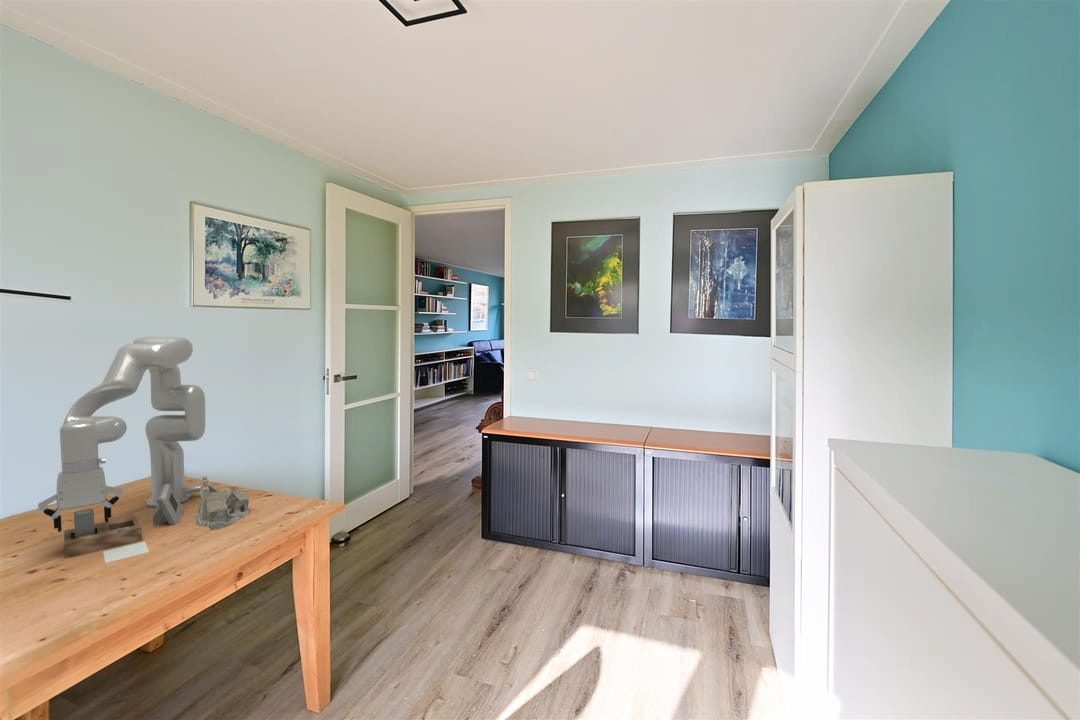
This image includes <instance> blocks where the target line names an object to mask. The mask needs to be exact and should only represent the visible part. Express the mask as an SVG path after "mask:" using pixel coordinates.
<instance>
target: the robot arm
mask: <svg viewBox="0 0 1080 720" xmlns="http://www.w3.org/2000/svg"><path fill="white" fill-rule="evenodd" d="M193 351H194V347H193V344H192V342H191V341H190V340H189V339H187V338H185V337H177V336H176V337H175V336H171V337H169V336H144V337H138V338H136V339H134V341H133V343H129V344H128V343H127V344H125V345H122V346H120V348H119V349H118V350H117V352H116V354H115V356H114V359H113V361H112V362H111V364H110V367H109V369H108V371H107V373H106V375H105V377H104V379H103V381H102V382H101V383H100V384H98V385H97V386H95V387H94V388H91V389H90V390H89V391H88V392H86V393H85V394H83V395H82V396H81V397H79V398H78V399H77V400H76V401H75V402H74V403H73V404H72V406H71V407H70V409H69V410H68V412H67V414H66V416H65V419H64V420H63V422H62V425H61V427H60V429H59V442H60V458H61V459H60V460H61V471H60V472H58V474H57V478H56V493H55V494H54V495H51V496H49V497H48V498H46V499H44V500H42V501H40V502H39V503H38V504H37V507H38V509H39V510H40V511H41V512H42V513H44V514H45V515H47V516H49V517H50V518H52V519H53V528H54V530H55V529H56V530H57V533H59V532H60V533H61V532H62V516H61V514H63V512H64V511H65V510H72V509H76V508H83V507H86V506H87V507H88V506H93V505H99V504H101V505H103V506H104V507H103V511H104V515H103V516H104V522H109V521H110V520H109V519H110V518H112V507H113V506H114V505H115V504H116V503H117V502H118V501H119V500H120V498H121V496H122V494H123V493H124V490H123V489H122V488H119V487H115V486H114V487H113V486H109V485H107V484H106V477H105V471H104V469H103V466H101V465H103V464H106V461H107V460H106V458H100V457H99V445H100V444H104V443H105V444H106V443H112V442H115V441H117V440H120V439H121V438H122V437H123V436H125V434H126V432H127V426H128V425H127V423H126V422H125V420H124V419H122V418H120V417H118V416H99V415H98V416H97V415H96V416H95V415H94V413H96V412H97V411H98V410H99V409H101V408H103V407H104V406H106V405H109V404H110V403H114V402H117V401H119V400H122V399H124V398H128V397H129V396H132V395H133V394H135V393H137V391H138V388H139V386H140V383H141V381H142V379H143V376H144V375H145V372H146V371H147V370H148V372H149V376H150V403H151V407H152V408H153V409H154V410H155V411H158V412H184V414H160V415H156V416H153V417H150V419H149V420H148V421H147V422H146V424H145V426H144V427H145V428H144V429H145V435H146V439H147V443H148V445H149V446H148V447H149V452H150V453H149V455H150V457H149V458H150V473H151V474H150V477H151V498H148V499H147V500H146V506H148V507H150V508H151V507H152V508H156V506H157V505H158V503H157V497H158V495H159V492H160V490H161V488H162V486H164V485H165V484H170V485H171V487H172V489H173V491H174V493H175V494H176V496H177V498H178V500H179V502H180V504H181V503H185V502H187V501H189V500H190V499H191V493H197V492H200V490H201V489H202V487H201V485H198V486H196V485H192V486H187V485H186V483H185V482H186V481H185V480H186V479H185V458H184V457H185V452H184V449H183V447H182V445H181V444H180V442H195V441H198V440H200V439H201V438H203V436H204V434H205V430H206V396H205V392H204V390H203V388H202V387H200V386H198V385H196V384H182V382H181V381H182V380H181V371H180V368H179V366H178V365H180V364H182V363H185V362H186V361H188V360H189V359H190V358H191V356H192V354H193ZM93 415H94V416H93ZM108 492H109V493H111V494H112V493H113V494H114V496H112V497H111V498H110V499H107V496H108V495H107V493H108ZM55 501H56V506H57V507H56V508H55V509H52V508H50V507H49V506H48V505H50V504H52V503H54V502H55Z"/></svg>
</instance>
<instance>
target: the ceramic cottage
mask: <svg viewBox="0 0 1080 720" xmlns="http://www.w3.org/2000/svg"><path fill="white" fill-rule="evenodd" d="M202 486H203V487H201V490H200V491H198V492H199V493H198V494H199V496H200V504H199V506H198V514H197V515H196V516H195V518H194V519H195V521H196V523H195V524H196V525H197V526H198V527H206V528H207V527H208V528H209V529H210V530H211V531H214V530H219V529H222V528H225V527H228V526H231V525H232V524H234V523H236V522H238V521H240V520H241V519H243V518H245V517H246V515H247V514H248V515H250V513H251V511H250V509H249V508H248V507H249V504H250V501H249V497H248V492H247V490H246V489H242V490H237V485H235V484H233V485H231V487H230V489H229V488H227V487H225V488H221V489H218V488H217V487H215V486H213V485H211V484H210V482H209V481H208V478H207V475H204V476H202ZM248 515H247V516H248ZM244 516H245V517H244Z"/></svg>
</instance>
